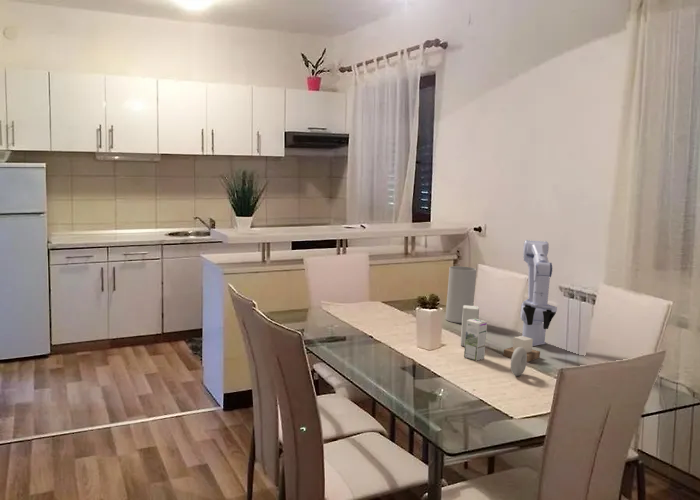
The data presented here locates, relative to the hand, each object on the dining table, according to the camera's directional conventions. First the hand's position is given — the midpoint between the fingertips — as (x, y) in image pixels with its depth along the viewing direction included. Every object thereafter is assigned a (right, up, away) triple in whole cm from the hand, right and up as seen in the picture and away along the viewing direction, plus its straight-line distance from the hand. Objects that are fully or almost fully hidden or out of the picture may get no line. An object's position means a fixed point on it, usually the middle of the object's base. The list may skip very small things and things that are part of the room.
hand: (537, 326), depth 260 cm
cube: (-8, -8, -7) cm, 14 cm away
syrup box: (-27, -11, -12) cm, 32 cm away
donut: (-16, -13, -31) cm, 37 cm away
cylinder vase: (-23, -3, +51) cm, 56 cm away
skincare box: (-26, -8, +7) cm, 28 cm away
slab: (-8, -11, -6) cm, 15 cm away
